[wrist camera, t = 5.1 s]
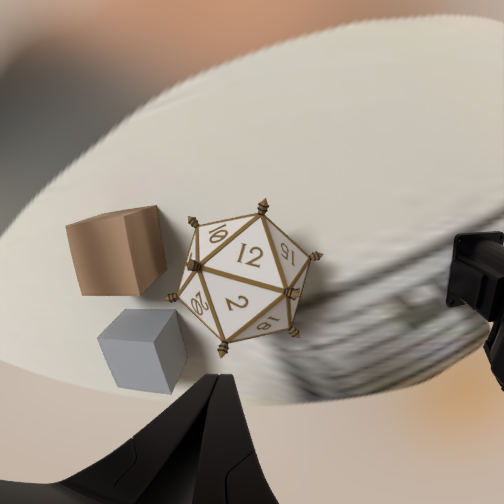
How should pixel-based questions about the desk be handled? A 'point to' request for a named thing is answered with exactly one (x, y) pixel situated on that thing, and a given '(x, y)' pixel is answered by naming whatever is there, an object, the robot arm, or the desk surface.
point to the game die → (243, 277)
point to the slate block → (144, 350)
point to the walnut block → (117, 252)
